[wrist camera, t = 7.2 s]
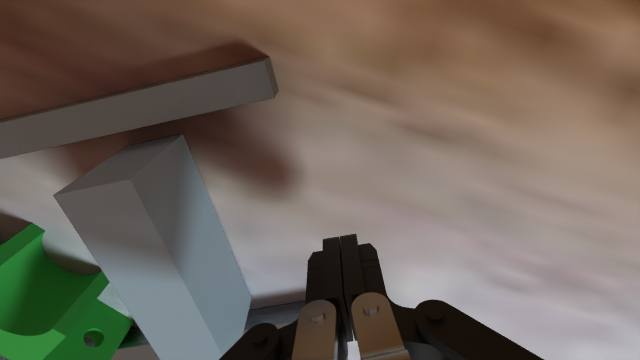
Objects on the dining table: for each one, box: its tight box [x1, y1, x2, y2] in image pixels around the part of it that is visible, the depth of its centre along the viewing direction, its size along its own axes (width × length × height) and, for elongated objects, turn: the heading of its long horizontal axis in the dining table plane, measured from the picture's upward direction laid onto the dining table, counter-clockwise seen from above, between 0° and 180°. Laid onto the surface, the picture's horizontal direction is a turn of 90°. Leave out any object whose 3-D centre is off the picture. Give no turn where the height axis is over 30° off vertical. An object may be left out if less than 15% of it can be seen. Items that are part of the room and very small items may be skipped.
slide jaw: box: [53, 134, 252, 360], centre depth 16 cm, size 11×3×5 cm, turn 12°
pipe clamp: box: [0, 223, 134, 360], centre depth 18 cm, size 11×4×5 cm, turn 44°
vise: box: [0, 57, 306, 360], centre depth 17 cm, size 16×25×5 cm, turn 102°
